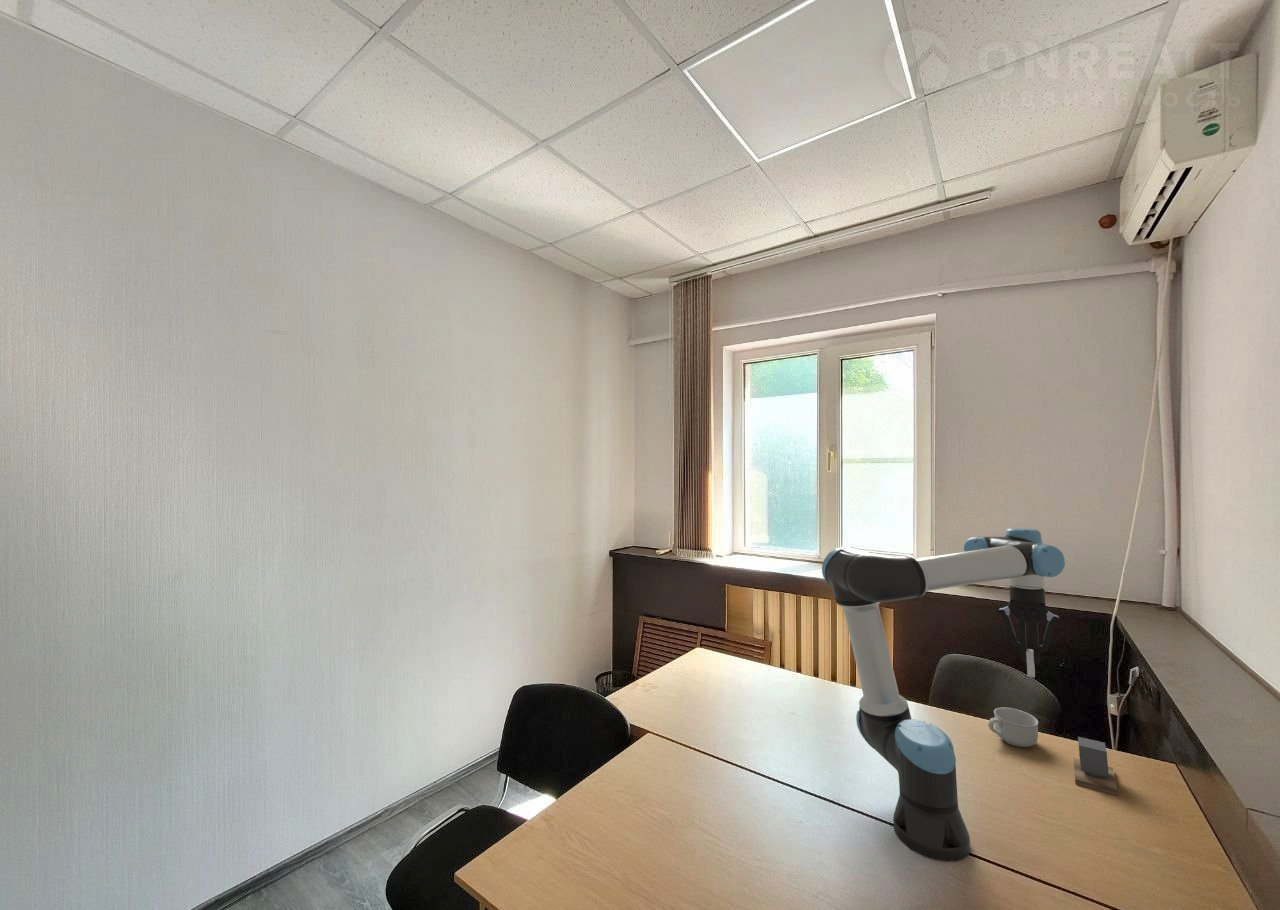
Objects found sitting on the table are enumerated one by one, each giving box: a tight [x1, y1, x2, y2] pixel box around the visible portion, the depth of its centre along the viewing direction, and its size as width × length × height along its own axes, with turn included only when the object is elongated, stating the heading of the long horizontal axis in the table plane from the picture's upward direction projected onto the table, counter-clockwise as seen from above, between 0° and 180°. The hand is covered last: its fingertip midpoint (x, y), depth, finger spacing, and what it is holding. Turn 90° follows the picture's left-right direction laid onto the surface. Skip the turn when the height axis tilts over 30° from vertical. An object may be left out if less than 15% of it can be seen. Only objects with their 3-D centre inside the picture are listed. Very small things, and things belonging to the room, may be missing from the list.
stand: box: [1072, 757, 1119, 796], centre depth 130 cm, size 12×8×8 cm, turn 140°
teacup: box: [987, 706, 1039, 748], centre depth 148 cm, size 14×11×8 cm
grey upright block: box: [1077, 736, 1109, 778], centre depth 130 cm, size 5×5×7 cm
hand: (1031, 675), depth 130 cm, fingers closed
